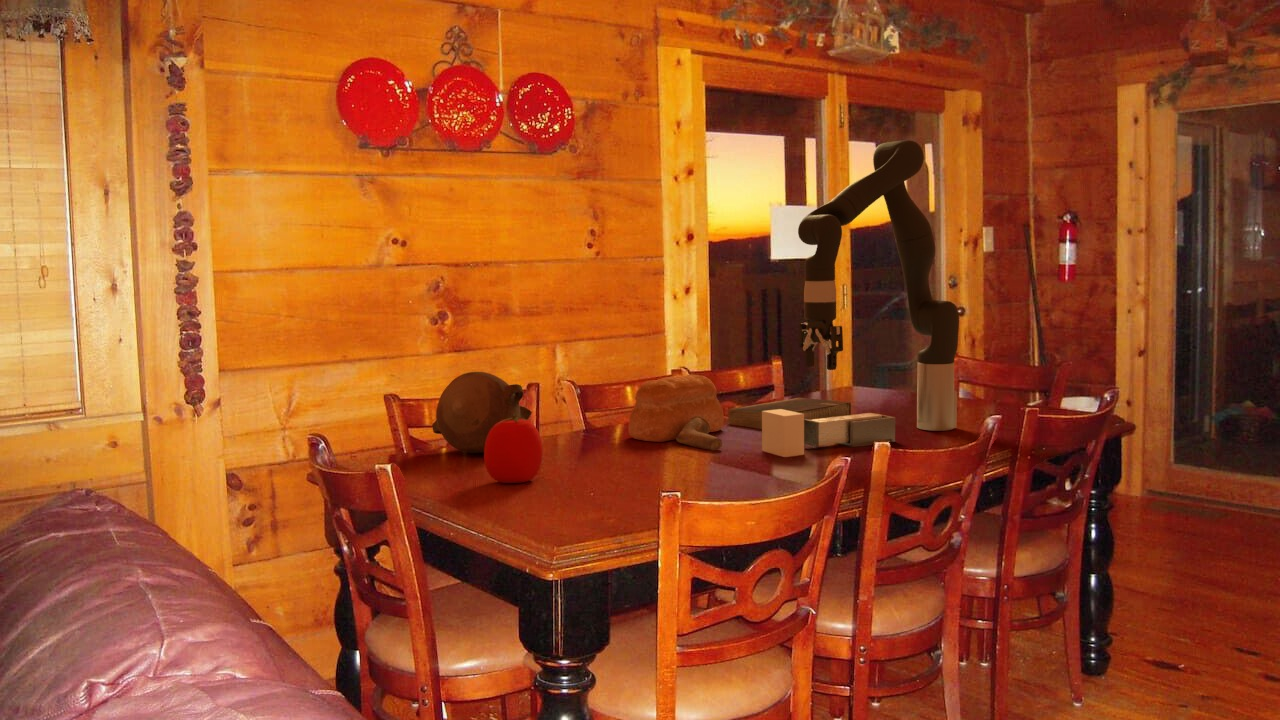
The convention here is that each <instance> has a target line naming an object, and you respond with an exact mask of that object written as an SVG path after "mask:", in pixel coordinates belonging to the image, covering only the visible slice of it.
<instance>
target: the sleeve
mask: <svg viewBox="0 0 1280 720" xmlns="http://www.w3.org/2000/svg"><path fill="white" fill-rule="evenodd" d="M877 414H878V415H882V418H878V419H870V420H861V421H853V422H850V442H844V443H837V444H839V445H842V446H847V447H850V448H858V447H865V446H871V445H872V444H873V442H874V441H879V440H886V441H890V442H889V443H895V442H896V416H890V415H885V414H880V413H877ZM872 446H873V445H872Z"/></svg>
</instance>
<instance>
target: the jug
mask: <svg viewBox="0 0 1280 720" xmlns="http://www.w3.org/2000/svg"><path fill="white" fill-rule="evenodd" d="M523 397H524V388H523V386H522V385H521V384H518V383H516V384H515V383H513V384H509V383H507V381H505V380H503V379H502V378H500V377H498V376H497V375H495V374H492V373H489V372H485V371H470V372H464V373H462V374H460V375H458V376H457V377H455V378H454V379H453V380H451V381H450V383H449V384H448V385H447V386H446V387H445V388H444V390H443V391H442V393H441V395H440V397H439V400H438V403H437V404H436V405H437V406H436V413H435V419H436V420H435V421H433V422H432V425H431V427H432V432H433V434H436V435H441V436H442V437H443V438H444V440H445V442H446V443H448V444H449V445H450V446H452V447H453V448H454V449H456V450H458V451H460V452H463V453H467V454H484V448H485V442H486V438H487V435H488V433H489V432H490V430H491V429H492V427H493V426H494V425H495V424H497V423H498V422H500V421H502V420H503V419H504V420H505V419H506V418H513V415H515V416H516V417H519V418H524V419H525V420H527V421H529V419H530V418H531V416H532V411H531V410H530V409H529V408H528V407H526V406H521V405H520V401H521V400H522V399H523Z"/></svg>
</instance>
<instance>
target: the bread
mask: <svg viewBox="0 0 1280 720" xmlns="http://www.w3.org/2000/svg"><path fill="white" fill-rule="evenodd" d="M717 391H718V389H717V388H716V386H715V384H714V383H713V382H712V380H711V379H710V378H708V377H706V376H704V375H699V374H693V373H692V374H691V373H690V374H686V375H675V376H672V375H671V376H667V377H663V378H662V377H661V378H659V379H650V380H647V381H644V382H643V383H642V384H641V385H640V387H639V388H637V390H636V393H635V397H634V399H635V404H634V407H633V408H632V410H631V412H630V415H629V419H628V427H627V430H628V433H629V436H630V438H632V439H635V440H637V441H638V440H639V441H644V442H653V443H655V442H656V443H657V442H658V443H661V442H662V443H664V442H668V441H675V440H676V437H677V436H678V435H679V433H680V432H681V430H682V429H683V427H684V426H685V425H686V424H687V423H688V422H689V421H690V419H691V418H693V417H696V416H699V417H702V418H704V419H705V420H707V422H708V424H709V426H710V431H709V433H715V432H719V431H722V429H723V427H724V424H725V418H724V417H725V415H724V410H723V407H722V405H721V403H720V401H719V400H718V398H717V394H718V392H717Z"/></svg>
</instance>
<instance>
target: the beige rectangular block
mask: <svg viewBox="0 0 1280 720" xmlns="http://www.w3.org/2000/svg"><path fill="white" fill-rule="evenodd" d="M878 414H879V413H873V412H867V413H866V412H865V413H859V414H857V413H856V414H851V415H847V416H839V417H830V418H821V419H812V420H808V419H804V445H806V446H810V447H814V448H818V447H820V446H827V445H834V444H836V445H837V444H838V443H844V442H850V422H853V421H861V420H870V419H878V418H882V415H883V414H881V415H878Z"/></svg>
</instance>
